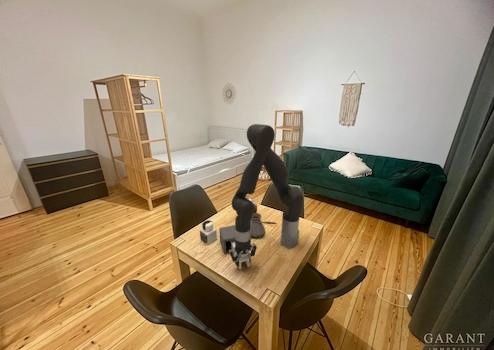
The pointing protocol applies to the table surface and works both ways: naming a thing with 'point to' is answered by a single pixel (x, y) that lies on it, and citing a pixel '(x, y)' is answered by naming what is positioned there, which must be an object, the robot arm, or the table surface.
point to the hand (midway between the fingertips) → (243, 264)
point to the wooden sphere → (254, 206)
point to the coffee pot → (257, 225)
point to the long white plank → (243, 257)
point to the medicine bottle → (208, 232)
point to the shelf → (226, 235)
